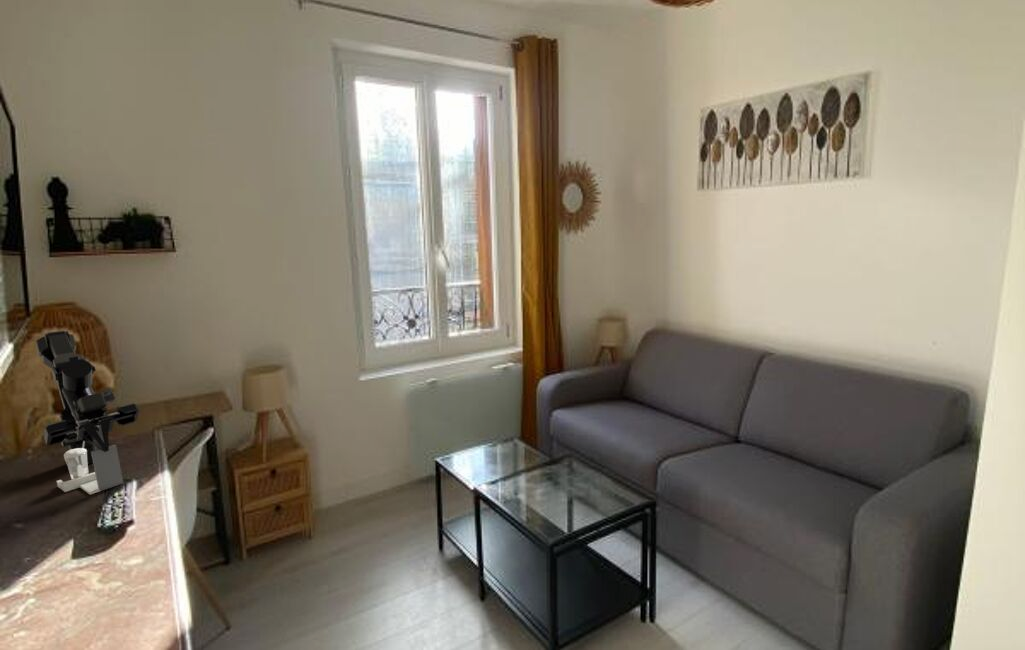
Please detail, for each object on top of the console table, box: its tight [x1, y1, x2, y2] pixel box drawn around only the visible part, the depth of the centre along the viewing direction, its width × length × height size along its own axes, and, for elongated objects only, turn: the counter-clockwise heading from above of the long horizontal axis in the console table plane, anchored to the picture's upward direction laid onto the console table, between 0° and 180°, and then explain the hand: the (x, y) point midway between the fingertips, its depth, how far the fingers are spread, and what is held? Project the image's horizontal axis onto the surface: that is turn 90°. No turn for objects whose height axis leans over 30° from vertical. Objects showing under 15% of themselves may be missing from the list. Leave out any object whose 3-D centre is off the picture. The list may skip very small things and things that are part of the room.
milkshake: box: [63, 441, 90, 480], centre depth 139 cm, size 4×5×10 cm
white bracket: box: [56, 444, 124, 495], centre depth 137 cm, size 13×10×10 cm
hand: (106, 450), depth 133 cm, fingers closed, pressing on white bracket
